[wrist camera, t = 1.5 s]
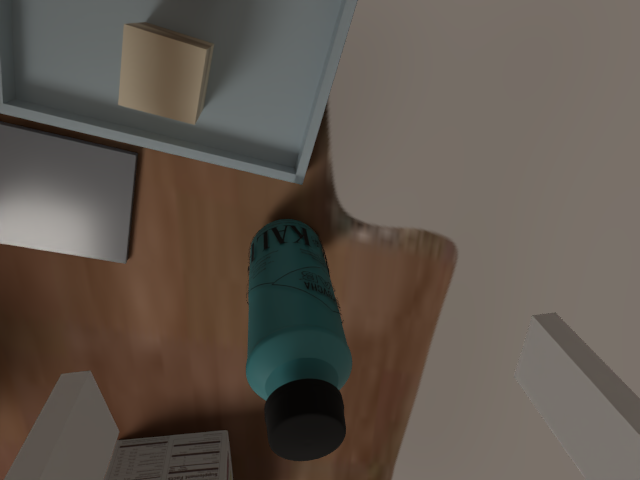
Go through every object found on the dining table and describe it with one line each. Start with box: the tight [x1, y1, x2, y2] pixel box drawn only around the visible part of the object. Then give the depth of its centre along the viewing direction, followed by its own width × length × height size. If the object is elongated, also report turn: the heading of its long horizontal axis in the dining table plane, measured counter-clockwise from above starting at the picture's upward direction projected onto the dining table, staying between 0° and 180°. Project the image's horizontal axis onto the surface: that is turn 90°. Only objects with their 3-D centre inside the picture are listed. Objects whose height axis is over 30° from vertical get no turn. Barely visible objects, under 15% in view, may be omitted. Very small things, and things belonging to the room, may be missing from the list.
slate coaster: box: [0, 121, 138, 264], centre depth 31 cm, size 10×10×1 cm
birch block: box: [118, 22, 214, 125], centre depth 26 cm, size 4×4×5 cm
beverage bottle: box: [246, 219, 352, 461], centre depth 28 cm, size 6×7×20 cm
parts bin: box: [0, 0, 358, 185], centre depth 26 cm, size 21×19×2 cm
